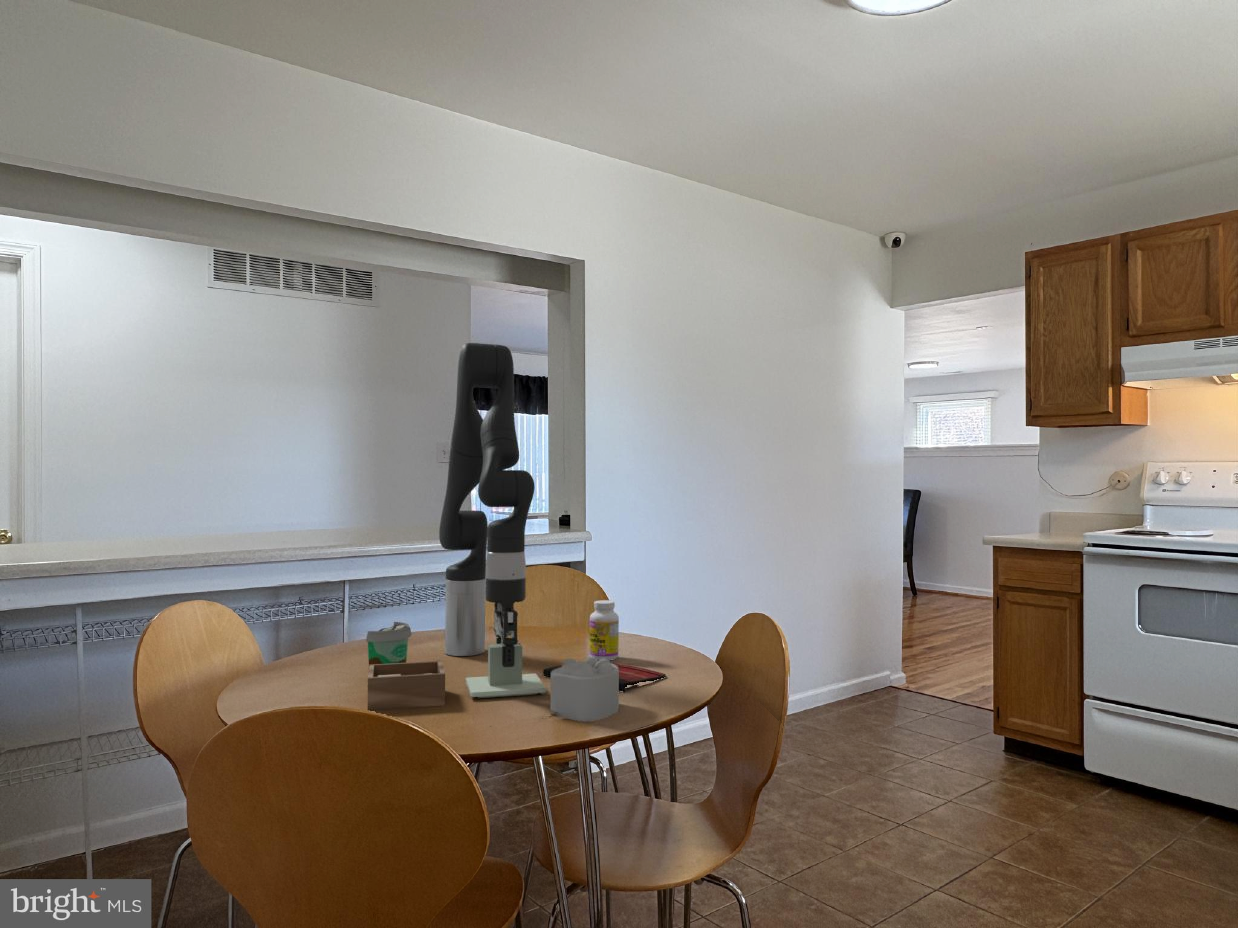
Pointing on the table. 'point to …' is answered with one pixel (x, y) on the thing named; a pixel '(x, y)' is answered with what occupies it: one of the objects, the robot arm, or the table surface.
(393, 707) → the box
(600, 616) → the supplement bottle
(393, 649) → the food container
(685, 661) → the table surface
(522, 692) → the lid
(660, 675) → the binder
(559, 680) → the grey lumpy filled container
